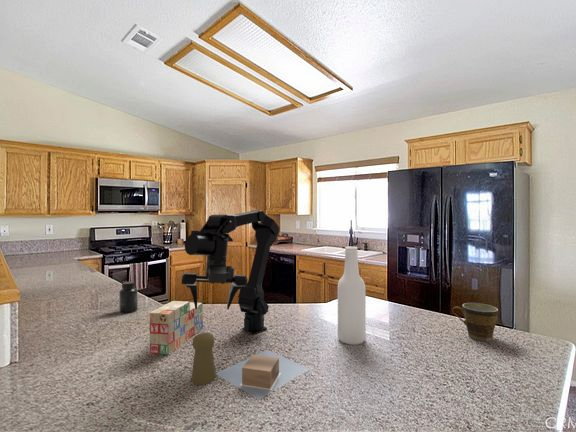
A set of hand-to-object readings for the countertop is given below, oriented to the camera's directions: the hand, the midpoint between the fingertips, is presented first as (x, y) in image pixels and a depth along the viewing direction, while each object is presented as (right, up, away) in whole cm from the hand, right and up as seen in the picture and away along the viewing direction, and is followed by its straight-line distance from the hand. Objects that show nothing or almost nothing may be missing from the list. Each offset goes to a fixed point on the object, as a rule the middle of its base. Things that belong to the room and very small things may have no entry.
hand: (212, 308), depth 91 cm
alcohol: (+43, -13, +8) cm, 46 cm away
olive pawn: (+2, -13, -15) cm, 20 cm away
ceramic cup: (+84, -13, +11) cm, 85 cm away
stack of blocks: (-13, -13, +9) cm, 21 cm away
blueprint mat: (+16, -13, -12) cm, 24 cm away
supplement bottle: (-45, -13, +39) cm, 61 cm away
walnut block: (+16, -12, -16) cm, 26 cm away
